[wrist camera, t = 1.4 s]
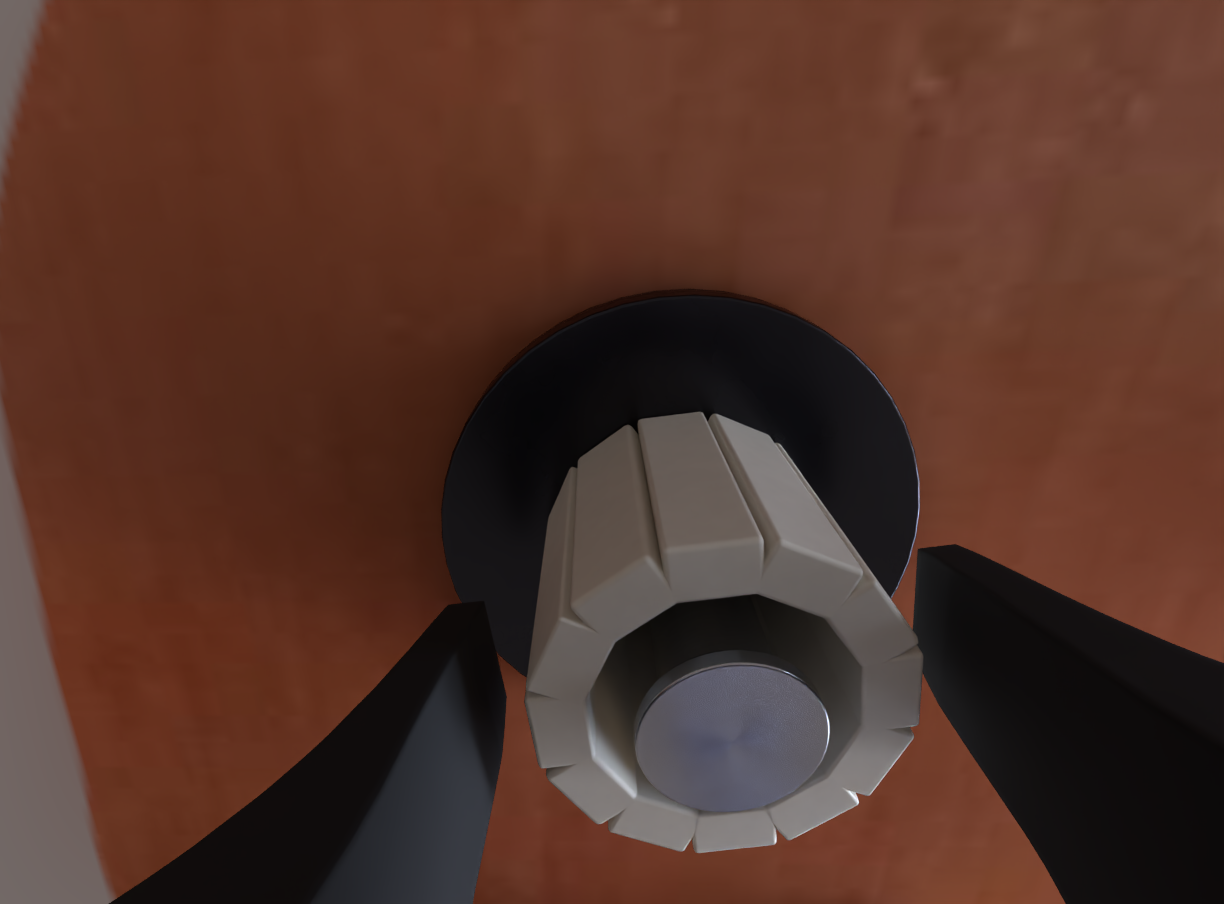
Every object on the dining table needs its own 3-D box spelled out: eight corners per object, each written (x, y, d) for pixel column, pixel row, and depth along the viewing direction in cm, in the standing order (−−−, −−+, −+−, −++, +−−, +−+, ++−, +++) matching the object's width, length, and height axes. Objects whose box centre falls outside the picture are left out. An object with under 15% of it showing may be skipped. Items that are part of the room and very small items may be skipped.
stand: (895, 672, 16) (1061, 943, 11) (495, 718, 17) (443, 1008, 11) (915, 256, 13) (1192, 320, 7) (398, 323, 13) (237, 440, 7)
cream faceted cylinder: (813, 629, 15) (913, 831, 10) (570, 657, 15) (560, 870, 10) (812, 396, 13) (935, 517, 8) (529, 431, 13) (494, 570, 8)
